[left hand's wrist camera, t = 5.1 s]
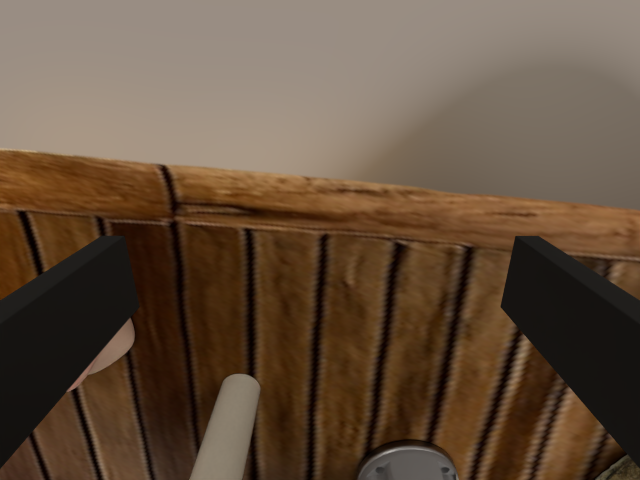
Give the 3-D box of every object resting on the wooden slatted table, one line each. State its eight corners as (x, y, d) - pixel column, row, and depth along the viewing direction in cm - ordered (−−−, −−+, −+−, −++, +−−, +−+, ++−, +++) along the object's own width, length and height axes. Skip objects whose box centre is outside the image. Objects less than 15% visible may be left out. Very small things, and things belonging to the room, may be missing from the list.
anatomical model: (79, 289, 40) (143, 364, 44) (100, 273, 43) (157, 343, 47) (-10, 335, 42) (58, 402, 46) (17, 316, 46) (78, 380, 49)
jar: (229, 368, 49) (186, 496, 33) (266, 382, 50) (242, 513, 34) (215, 396, 51) (168, 530, 35) (251, 409, 52) (221, 545, 36)
